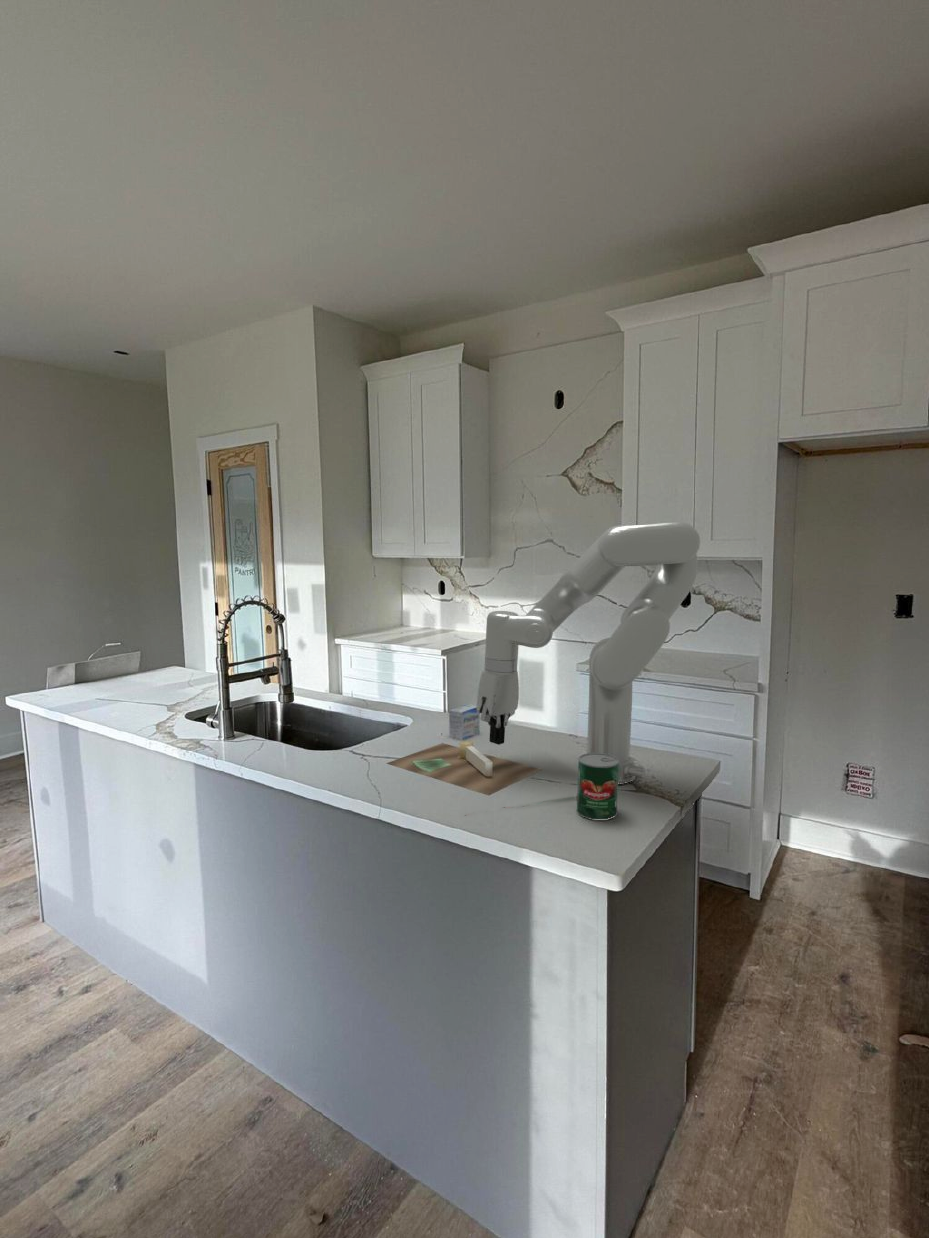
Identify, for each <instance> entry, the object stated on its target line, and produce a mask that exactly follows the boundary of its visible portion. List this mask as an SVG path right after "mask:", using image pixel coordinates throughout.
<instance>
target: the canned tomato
mask: <svg viewBox="0 0 929 1238" xmlns="http://www.w3.org/2000/svg"><path fill="white" fill-rule="evenodd" d="M577 760H578V767H577V769H578V770H577V772H578V773H577V790H576V791H577V794H576V795H577V797H576V798H577V799H576V813H577V812H578V813H579V814H580V815H581V816H584V817H586V818H591V819H608V818H611V817H613V816H615V815H616V813H617V814H618V812H617V810H618V790H619V785H618V771H619V760H618V759H617V758H616V757H614V756H612V755H608V754H602V753H588V754H587V753H584V754H581V755H580V756H579V757H578V759H577ZM578 813H577V814H578ZM580 815H579V816H580ZM581 816H580V817H581ZM616 816H617V815H616ZM586 818H585V819H586Z"/></svg>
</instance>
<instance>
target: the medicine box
mask: <svg viewBox="0 0 929 1238" xmlns="http://www.w3.org/2000/svg"><path fill="white" fill-rule="evenodd" d="M448 712H449V714H448V717H449V719H448V723H449V725H448V728H449V729H448V732H449V733H448V734H449V735H448V737H449V738H451V739H455V740H459V741H465V740H466V739H470V738H471V737H474V736H476V735H479V734H480V725H481V724H480V721H481V715H480V714H481V713H478V712H477V705H474V704H465V705H461V706H459V707H456V708H453V709H450V710H449V711H448Z"/></svg>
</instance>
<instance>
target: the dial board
mask: <svg viewBox="0 0 929 1238" xmlns="http://www.w3.org/2000/svg"><path fill="white" fill-rule="evenodd" d="M482 754H483V755H484V756H485V757H487V758H488V759H489V760H490V761H492V776H491V777H487V776H485V775H484V774H483V773H482V772H480V771H479V770H478V769H477V768H476V767H475V766H474V765H472V764H471V763H470V762H469V761H468V760H467V759H464V758H461V757H460V746H454V745H450V744H447V743H444V742H442V743H438V744H436V745H433V746H431V747H427V748H425V749H422V750H420V751H417V752H414V753H411V754H408V755H405V756H403V757H400V758H398V759H397V758H396V759H395V760H392V761H389V762H386V764H387V765H391V766H393V767H397V768H400V769H403V770H406V771H409V772H413V773H416V774H419V775H423V776H425V777H428V778H431V779H435V780H438V781H441V782H445V783H448V784H450V785H453V786H454V785H455V786H458V787H461V788H464V789H467V790H469V791H470V790H471V791H474V792H476V793H477V792H478V793H480V794H483V795H485V796H491V795H492V794H495V793H496V792H499V791H501V790H503V789H505V788H508V787H509V786H512V785H513V784H514V783H517V782H520V781H521V780H523V779H525V778H528V777H531V776H532V775H533V774H535V773H537V772H540V771H542V768H538V767H534V766H530V765H527V764H526V765H525V764H523V763H519V762H515V761H511V760H509V759H505V758H502V757H501V758H500V757H496V756H492V755H488V754H484V753H482Z"/></svg>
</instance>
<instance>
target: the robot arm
mask: <svg viewBox="0 0 929 1238" xmlns="http://www.w3.org/2000/svg"><path fill="white" fill-rule="evenodd" d="M700 546H701V537H700V534H699V532H698V531H697V529H696V528H695V527H694V525H691V524H690V523H688V522H683V521H670V522H661V523H649V524H635V525H634V524H633V525H631V524H629V525H625V524H623V525H622V524H621V525H615V526H611V527H610V528H608V529H607V530H606V531H604V532H603V533H602V535H600V536H599V538H597V540H595V541H594V543H593V544H591V546H590V547H588V549H587V550H586V551H585V552H584V553H582V555H581V556H579V558H578V559H577V560H576V561H575V562H574V563H573V564H572V565H570V567H569V568H568V569H567V570H566V572H564V573H563V575H561V577H560V578H559V579H558V581H557V582H556V583H555V584H554V586H552V588H550V589H549V590H548V592H547V593H546V594H545V595H544V596H543V597H542V598H541V599H540V600H539V601H538V602H537V603H536V604H535V605H534V606H533V607H532V608H531V609H530V610H529V611H528V612H527V613H526V614H525V615H519V614H518V613H516V612H514V611H508V610H493V611H491V612H489V613H488V615H487V617H486V628H485V629H486V630H485V631H486V632H485V646H484V647H485V650H484V652H485V653H484V668H483V669H484V670H483V671H481V675H480V679H479V683H478V690H477V699H476V706H477V712H478V713H480V714H481V715H480V721H481V722H484V723H485V722H486V723H488V724H487V725H488V726H489V742H490V743H492V744H495V745H499V746H500V745H502V744H504V743H505V733H506V727H507V726H508V721H509V719H510V717H513V716H514V715H515V714H516V710H517V709H518V708H519V707H518V706H519V699H520V697H519V696H520V686H519V684H520V683H519V682H520V681H519V671H518V662H519V661H518V659H519V647H520V646H522V647H527V648H530V649H531V648H532V649H541V648H543V647H545V646H547V645H548V644H549V643H550V642H551V641H552V639H553V634H554V632H555V631H556V630H557V629H558V628H559V627H560V626H561V625H562V624H563V623H564V622H565V621H566V620H567V619H568V618H569V617H570V616H571V615H572V614H573V613H574V612H576V611H577V610H578V609H579V608H580V607H582V606H585V604H588V603H589V602H591V601H593V600H594V599H595V597H597V596H598V595H599V594H600V593H601V592H602V591H603V590H604V589H605V588H606V586H608V585H609V584H610V583H611V582H612V581H613V580H614V579H615V578H616V577H617V575H618V574H620V572H621V571H623V570H624V569H625V567H644V566H656V568H655V570H654V572H653V574H652V575H651V576H650V578H649V580H647V582H646V584H645V585H644V586H643V588H642V589H641V590H640V591H639V593H638V594H637V595H636V597H635V598H633V600H632V601H631V602H630V604H629V605H628V606H627V607H626V608H625V609H624V611H623V612H622V614H621V616H620V624H619V625H618V626H617V627H616V629H615V630H614V631H613V633H612V634H611V635H610V637H607V638H603V639H600V640H599V641H597V642H596V643H595V644H594V646H593V647H592V648H591V651H590V653H589V661H588V672H589V673H588V675H589V676H588V683H589V684H588V712H587V715H588V716H587V743H586V744H587V745H586V754H588V753H602V754H608V755H612V756H614V757H616V758H617V759H618V760H619V771H618V783H619V784H620V783H625V782H629V781H631V780H634V779H635V778H638V779H644V778H645V776H646V768H645V766H641V765H636V764H635V757H631V755H630V754H631V732H632V731H631V729H632V713H633V712H632V711H633V682H634V681H635V680H636V679H637V678H638V677H639V675H640V674H641V673H642V672H643V671H644V669H645V668H646V667H647V665H649V663H650V661H652V659H653V658H654V657H655V656H656V654H657V653H658V652H659V651H660V650H661V648H662V647H663V645H664V644H665V642H666V640H667V638H668V636H669V633H670V627H671V626H670V619H671V618H672V616H673V615H674V614H675V613H676V611H677V610H678V609H679V607H680V605H682V603H683V601H685V599H686V598H687V596H688V595H689V593H690V592H691V590H692V587H693V585H694V584H695V581H696V577H697V573H698V555H697V553H698V551H699V549H700ZM635 780H636V779H635ZM635 780H634V781H635Z"/></svg>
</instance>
